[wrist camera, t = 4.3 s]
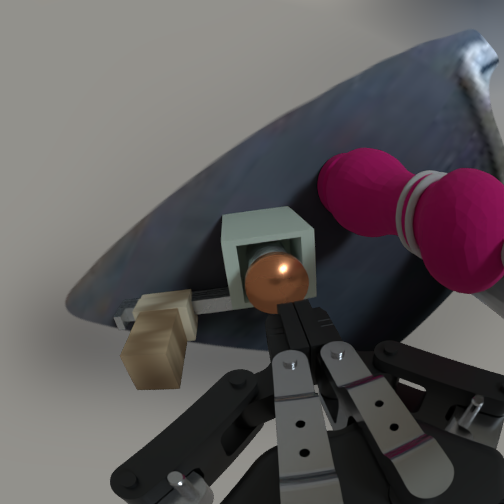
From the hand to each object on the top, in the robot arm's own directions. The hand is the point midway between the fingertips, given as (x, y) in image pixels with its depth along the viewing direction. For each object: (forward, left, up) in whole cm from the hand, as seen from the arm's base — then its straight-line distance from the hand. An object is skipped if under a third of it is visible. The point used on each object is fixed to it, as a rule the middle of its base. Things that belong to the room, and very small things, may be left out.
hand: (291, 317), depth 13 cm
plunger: (0, 0, -9) cm, 9 cm away
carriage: (+10, +5, -12) cm, 17 cm away
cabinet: (0, 0, -14) cm, 14 cm away
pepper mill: (-9, -4, -14) cm, 17 cm away
